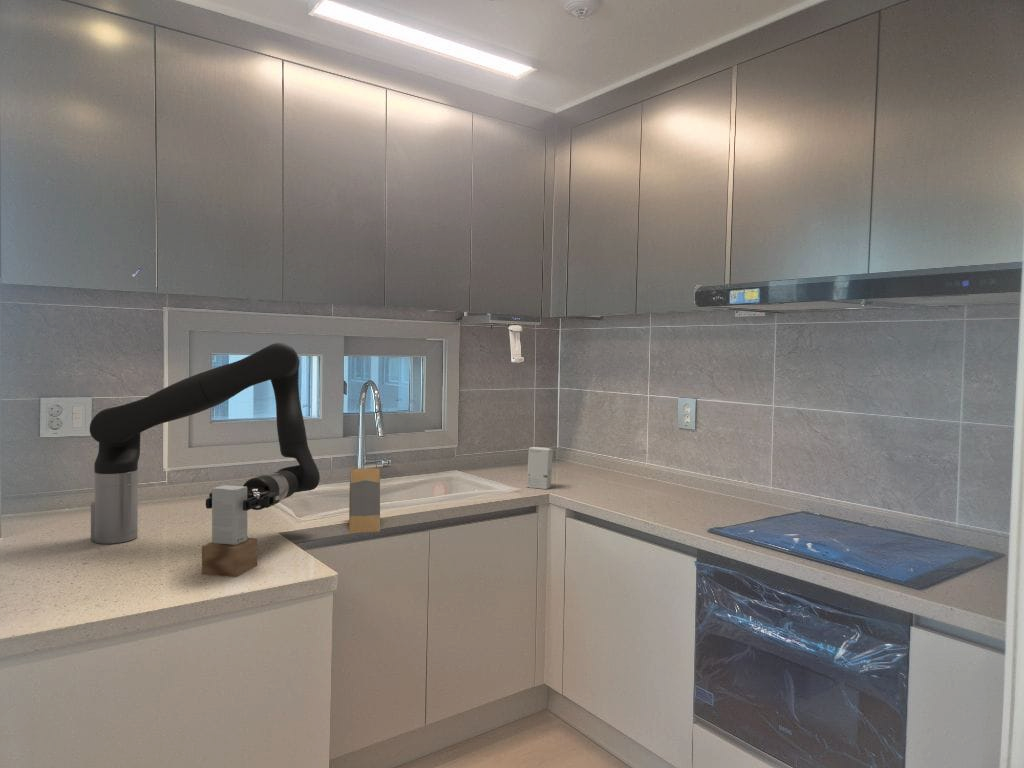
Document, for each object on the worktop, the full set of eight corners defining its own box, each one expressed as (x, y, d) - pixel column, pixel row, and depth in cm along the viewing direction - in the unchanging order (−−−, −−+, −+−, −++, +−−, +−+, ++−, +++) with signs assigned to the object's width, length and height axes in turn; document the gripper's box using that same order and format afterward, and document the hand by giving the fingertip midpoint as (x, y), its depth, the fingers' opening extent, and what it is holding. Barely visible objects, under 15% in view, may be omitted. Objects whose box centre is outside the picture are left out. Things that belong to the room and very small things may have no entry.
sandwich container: (348, 533, 171) (348, 477, 170) (349, 519, 186) (349, 468, 185) (380, 532, 173) (381, 476, 172) (379, 518, 188) (380, 467, 187)
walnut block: (201, 574, 136) (201, 546, 135) (224, 562, 144) (224, 536, 143) (236, 576, 134) (236, 548, 134) (257, 565, 142) (257, 538, 142)
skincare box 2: (526, 487, 238) (526, 448, 238) (531, 485, 244) (532, 446, 243) (547, 489, 235) (548, 449, 235) (552, 486, 241) (553, 447, 241)
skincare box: (248, 540, 140) (248, 486, 140) (235, 545, 136) (235, 489, 136) (224, 538, 142) (224, 484, 141) (210, 543, 138) (211, 488, 137)
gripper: (238, 473, 154) (195, 486, 138) (293, 476, 152) (256, 489, 136) (238, 504, 154) (195, 520, 138) (293, 507, 152) (256, 524, 136)
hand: (225, 504), depth 137 cm, fingers open, 8 cm apart
